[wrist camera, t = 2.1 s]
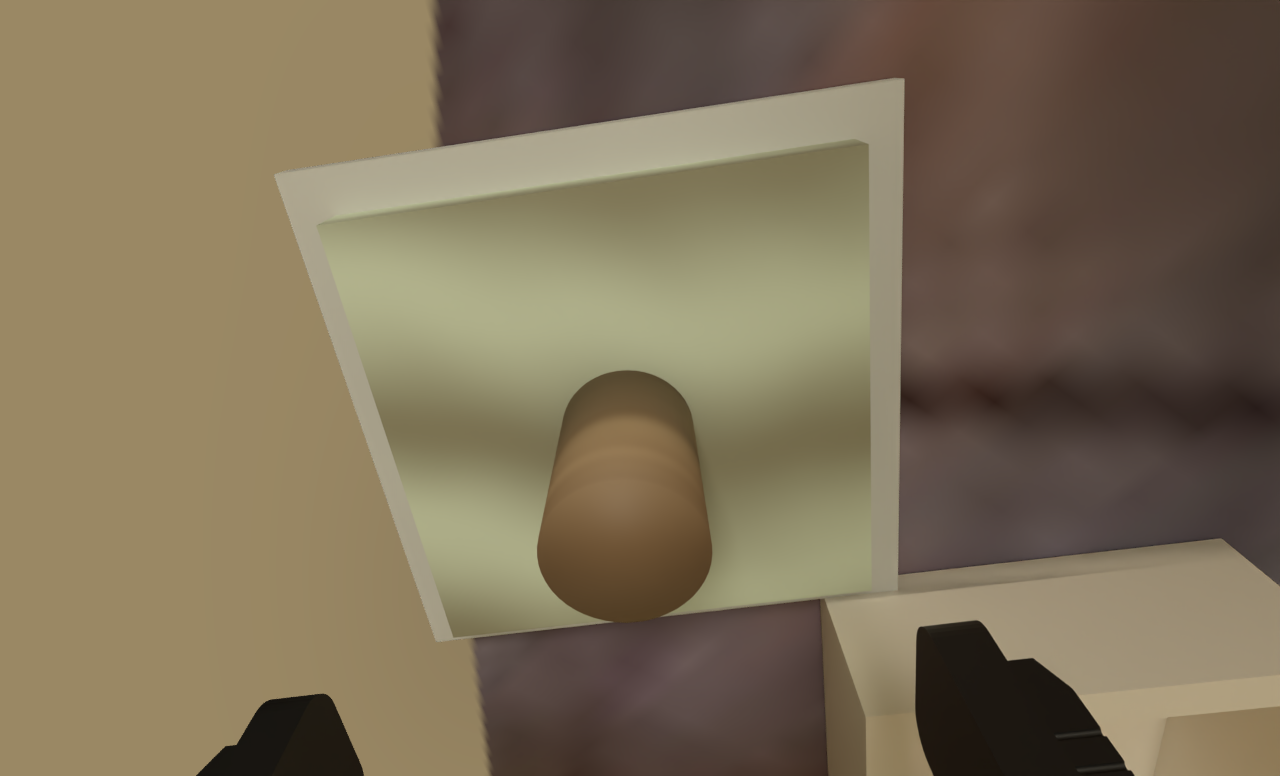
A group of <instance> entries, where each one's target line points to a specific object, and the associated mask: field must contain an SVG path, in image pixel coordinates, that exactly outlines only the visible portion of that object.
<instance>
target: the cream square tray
mask: <svg viewBox="0 0 1280 776" xmlns="http://www.w3.org/2000/svg"><path fill="white" fill-rule="evenodd" d="M820 608H821V630H822V652H823V674H824V696H825V718H826V740H827V762H828V776H933V774H932V771H931V769H930V767H929V764H928V762H927V759H926V757H925V754H924V751H923V748H922V744H921V741H920V737H919V733H918V728H917V722H916V714H915V683H916V635H917V630H918V628H919V627H921V626H930V625H939V624H947V623H956V622H965V621H973V620H978V621H980V622H981V623H983V625H984V626H985V627H986V628H987V630H988V631H989V632H990V634H991V636H992V637H993V639H994V640H995V642H996V644H997V645H998V647H999V648H1000V650H1001V651H1002V653H1003V655H1004V656H1005V658H1006V659H1007V661H1009V660H1018V659H1027V658H1034V659H1035V660H1036V661H1037V662H1039V663H1040V664H1041V665H1043V666H1044V667H1045V668H1047V669H1048V670H1049V671H1051V672H1052V673H1053V674H1054V675H1056V676H1057V677H1058V678H1060V679H1061V680H1062V681H1064V682H1065V683H1066V684H1067V685H1069V686H1070V687H1071V688H1073V690H1074V691H1075V692H1076V694H1077V695H1078V697H1079V698H1080V699H1081V701H1082V702H1083V704H1084V705H1085V706H1086V708H1087V709H1088V711H1089V712H1090V713H1091V715H1092V716H1093V718H1094V719H1095V720H1096V722H1097V723H1098V725H1099V726H1100V727H1101V732H1102V734H1103V736H1107V737H1108V739H1109V740H1110V741H1111V743H1112V744H1113V746H1114V747H1115V748H1116V750H1117V751H1118V753H1119V754H1120V755H1121V757H1122V758H1123V760H1124V761H1125V766H1126V768H1127V770H1131V771H1132V772H1133V774H1134V775H1135V776H1280V586H1279V585H1278V584H1276V583H1275V582H1274V581H1273V580H1271V579H1270V578H1269V577H1268V576H1267V575H1265V574H1264V573H1263V572H1262V571H1260V570H1259V569H1258V568H1257V567H1256V566H1254V565H1253V564H1252V563H1251V562H1249V561H1248V560H1247V559H1246V558H1245V557H1243V556H1242V555H1241V554H1240V553H1238V552H1237V551H1236V550H1235V549H1234V548H1232V547H1231V546H1230V545H1229V544H1228V543H1226V542H1225V541H1224V540H1223V539H1221V538H1219V539H1210V540H1202V541H1193V542H1184V543H1175V544H1166V545H1158V546H1149V547H1140V548H1131V549H1122V550H1114V551H1105V552H1096V553H1087V554H1078V555H1069V556H1061V557H1052V558H1043V559H1034V560H1025V561H1017V562H1008V563H999V564H990V565H981V566H972V567H964V568H955V569H946V570H937V571H928V572H920V573H911V574H902V575H898V590H895V591H886V592H877V593H868V594H860V595H851V596H842V597H833V598H824V599H820Z"/></svg>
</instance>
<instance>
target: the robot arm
mask: <svg viewBox="0 0 1280 776" xmlns="http://www.w3.org/2000/svg"><path fill="white" fill-rule="evenodd" d="M915 714H916V722H917V728H918V733H919V737H920V741H921V744H922V748H923V751H924V754H925V757H926V759H927V762H928V764H929V767H930V769H931V771H932V774H933V776H1135V775H1134V774H1133V772H1132V771H1131V770H1127V768H1126V766H1125V761H1124V760H1123V758H1122V757H1121V755H1120V754H1119V753H1118V751H1117V750H1116V748H1115V747H1114V746H1113V744H1112V743H1111V741H1110V740H1109V739H1108V737H1107V736H1103V734H1102V732H1101V727H1100V726H1099V725H1098V723H1097V722H1096V720H1095V719H1094V718H1093V716H1092V715H1091V713H1090V712H1089V711H1088V709H1087V708H1086V706H1085V705H1084V704H1083V702H1082V701H1081V699H1080V698H1079V697H1078V695H1077V694H1076V692H1075V691H1074V690H1073V688H1071V687H1070V686H1069V685H1067V684H1066V683H1065V682H1064V681H1062V680H1061V679H1060V678H1058V677H1057V676H1056V675H1054V674H1053V673H1052V672H1051V671H1049V670H1048V669H1047V668H1045V667H1044V666H1043V665H1041V664H1040V663H1039V662H1037V661H1036V660H1035V659H1034V658H1027V659H1018V660H1009V661H1007V659H1006V658H1005V656H1004V655H1003V653H1002V651H1001V650H1000V648H999V647H998V645H997V644H996V642H995V640H994V639H993V637H992V636H991V634H990V632H989V631H988V630H987V628H986V627H985V626H984V625H983V623H981V622H980V621H978V620H973V621H965V622H956V623H947V624H939V625H930V626H921V627H919V628H918V630H917V635H916V683H915ZM196 776H364V774H363V770H362V767H361V764H360V762H359V759H358V757H357V755H356V753H355V750H354V748H353V746H352V743H351V741H350V739H349V736H348V734H347V732H346V730H345V728H344V725H343V723H342V720H341V718H340V716H339V714H338V711H337V709H336V707H335V704H334V703H333V701H332V699H331V698H330V697H329V696H328V695H326V694H315V695H307V696H298V697H290V698H281V699H272V700H269V701H266V702H265V703H263V704H262V705H261V706H260V708H259V709H258V710H257V712H256V713H255V715H254V716H253V718H252V720H251V721H250V723H249V725H248V726H247V728H246V730H245V732H244V733H243V735H242V737H241V738H240V740H239V742H238V743H237V745H233V746H225V748H223V749H222V750H221V751H220V753H218V754H217V755H216V756H215V757H214V758H213V759H212V760H211V761H210V762H209V763H208V764H207V765H206V766H205V767H204V768H203V769H202V770H201V771H200V772H199V773H198V774H197V775H196Z"/></svg>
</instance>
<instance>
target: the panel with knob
mask: <svg viewBox="0 0 1280 776" xmlns="http://www.w3.org/2000/svg"><path fill="white" fill-rule="evenodd" d="M850 139H856V140H859V141H862V142H864V143H867V144H869V252H870V407H871V562H872V591H864V592H856V593H847V594H838V595H829V596H820V597H811V598H802V599H793V600H784V601H776V602H767V603H758V604H749V605H740V606H731V607H722V608H713V609H704V610H696V611H687V612H678V613H669V614H666V615H663V616H660V617H664V616H672V615H681V614H690V613H699V612H708V611H717V610H726V609H735V608H744V607H753V606H762V605H770V604H779V603H788V602H797V601H806V600H815V599H824V598H833V597H842V596H851V595H860V594H868V593H877V592H886V591H895V590H898V529H899V452H900V376H901V300H902V224H903V148H904V79H903V78H891V79H884V80H877V81H871V82H864V83H858V84H851V85H845V86H838V87H831V88H825V89H818V90H812V91H805V92H799V93H792V94H785V95H779V96H772V97H766V98H759V99H753V100H746V101H739V102H733V103H726V104H720V105H713V106H707V107H700V108H694V109H687V110H680V111H674V112H667V113H661V114H654V115H648V116H641V117H634V118H628V119H621V120H615V121H608V122H602V123H595V124H588V125H582V126H575V127H569V128H562V129H556V130H549V131H542V132H536V133H529V134H523V135H516V136H510V137H503V138H496V139H490V140H483V141H477V142H470V143H464V144H457V145H450V146H444V147H437V148H431V149H424V150H418V151H411V152H405V153H398V154H392V155H385V156H378V157H372V158H365V159H359V160H353V161H345V162H339V163H332V164H326V165H320V166H313V167H306V168H299V169H293V170H286V171H283V172H280V173H277V174H274V177H275V180H276V182H277V185H278V188H279V191H280V194H281V197H282V200H283V203H284V205H285V208H286V211H287V214H288V217H289V220H290V223H291V226H292V228H293V231H294V234H295V237H296V240H297V243H298V246H299V249H300V252H301V254H302V257H303V260H304V263H305V266H306V269H307V271H308V274H309V277H310V280H311V283H312V286H313V289H314V292H315V295H316V297H317V300H318V303H319V306H320V309H321V312H322V315H323V318H324V320H325V323H326V326H327V329H328V332H329V335H330V338H331V341H332V343H333V347H334V349H335V352H336V355H337V358H338V361H339V364H340V367H341V369H342V372H343V375H344V378H345V381H346V384H347V387H348V390H349V392H350V395H351V398H352V401H353V404H354V407H355V410H356V413H357V416H358V418H359V421H360V424H361V427H362V430H363V433H364V436H365V439H366V441H367V444H368V447H369V450H370V453H371V456H372V459H373V462H374V464H375V467H376V470H377V473H378V476H379V479H380V482H381V484H382V487H383V490H384V493H385V496H386V499H387V502H388V505H389V507H390V510H391V513H392V516H393V519H394V522H395V525H396V528H397V531H398V534H399V536H400V539H401V542H402V545H403V548H404V551H405V553H406V557H407V559H408V562H409V565H410V568H411V571H412V574H413V577H414V579H415V582H416V585H417V588H418V591H419V594H420V597H421V600H422V603H423V605H424V608H425V611H426V614H427V617H428V620H429V623H430V626H431V628H432V631H433V634H434V637H435V640H436V642H441V641H450V640H459V639H468V638H477V637H485V636H494V635H503V634H512V633H521V632H530V631H539V630H548V629H557V628H566V627H575V626H583V625H592V624H601V623H610V622H611V621H598V622H589V623H580V624H571V625H562V626H553V627H544V628H535V629H527V630H518V631H509V632H500V633H491V634H482V635H473V636H464V637H455V638H453V635H452V632H451V629H450V626H449V623H448V620H447V617H446V614H445V611H444V608H443V605H442V602H441V599H440V596H439V593H438V590H437V587H436V584H435V581H434V578H433V575H432V572H431V569H430V566H429V563H428V560H427V557H426V554H425V551H424V548H423V545H422V542H421V539H420V536H419V533H418V530H417V527H416V524H415V521H414V518H413V515H412V512H411V509H410V506H409V503H408V500H407V497H406V494H405V491H404V488H403V485H402V482H401V479H400V476H399V473H398V470H397V467H396V464H395V461H394V458H393V455H392V452H391V449H390V446H389V443H388V440H387V437H386V434H385V431H384V428H383V425H382V422H381V419H380V416H379V413H378V410H377V407H376V404H375V401H374V398H373V395H372V392H371V389H370V386H369V383H368V380H367V377H366V374H365V371H364V368H363V365H362V362H361V359H360V356H359V353H358V350H357V347H356V344H355V341H354V338H353V335H352V332H351V329H350V326H349V323H348V320H347V317H346V314H345V311H344V308H343V305H342V302H341V299H340V296H339V293H338V290H337V287H336V284H335V281H334V278H333V275H332V272H331V269H330V265H329V262H328V259H327V256H326V253H325V250H324V247H323V244H322V241H321V238H320V235H319V232H318V229H317V226H316V225H318V224H320V223H322V222H324V221H326V220H328V219H330V218H332V217H334V216H336V215H343V214H350V213H357V212H363V211H370V210H377V209H384V208H390V207H397V206H404V205H411V204H417V203H424V202H431V201H438V200H444V199H451V198H458V197H465V196H471V195H478V194H485V193H492V192H499V191H505V190H512V189H519V188H526V187H532V186H539V185H546V184H553V183H559V182H566V181H573V180H580V179H586V178H593V177H600V176H607V175H613V174H620V173H627V172H634V171H640V170H647V169H654V168H661V167H667V166H674V165H681V164H688V163H695V162H701V161H708V160H715V159H722V158H728V157H735V156H742V155H749V154H755V153H762V152H769V151H776V150H782V149H789V148H796V147H803V146H809V145H816V144H823V143H830V142H836V141H843V140H850Z"/></svg>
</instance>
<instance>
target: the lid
mask: <svg viewBox="0 0 1280 776" xmlns="http://www.w3.org/2000/svg"><path fill="white" fill-rule="evenodd" d="M316 226H317V229H318V232H319V235H320V238H321V241H322V244H323V247H324V250H325V253H326V256H327V259H328V262H329V265H330V269H331V272H332V275H333V278H334V281H335V284H336V287H337V290H338V293H339V296H340V299H341V302H342V305H343V308H344V311H345V314H346V317H347V320H348V323H349V326H350V329H351V332H352V335H353V338H354V341H355V344H356V347H357V350H358V353H359V356H360V359H361V362H362V365H363V368H364V371H365V374H366V377H367V380H368V383H369V386H370V389H371V392H372V395H373V398H374V401H375V404H376V407H377V410H378V413H379V416H380V419H381V422H382V425H383V428H384V431H385V434H386V437H387V440H388V443H389V446H390V449H391V452H392V455H393V458H394V461H395V464H396V467H397V470H398V473H399V476H400V479H401V482H402V485H403V488H404V491H405V494H406V497H407V500H408V503H409V506H410V509H411V512H412V515H413V518H414V521H415V524H416V527H417V530H418V533H419V536H420V539H421V542H422V545H423V548H424V551H425V554H426V557H427V560H428V563H429V566H430V569H431V572H432V575H433V578H434V581H435V584H436V587H437V590H438V593H439V596H440V599H441V602H442V605H443V608H444V611H445V614H446V617H447V620H448V623H449V626H450V629H451V632H452V635H453V638H455V637H464V636H473V635H482V634H491V633H500V632H509V631H518V630H527V629H535V628H544V627H553V626H562V625H571V624H580V623H589V622H598V621H611V622H624V623H628V622H640V621H646V620H650V619H654V618H658V617H660V616H663V615H666V614H669V613H678V612H687V611H696V610H704V609H713V608H722V607H731V606H740V605H749V604H758V603H767V602H776V601H784V600H793V599H802V598H811V597H820V596H829V595H838V594H847V593H856V592H864V591H872V562H871V407H870V252H869V144H867V143H864V142H862V141H859V140H856V139H850V140H843V141H836V142H830V143H823V144H816V145H809V146H803V147H796V148H789V149H782V150H776V151H769V152H762V153H755V154H749V155H742V156H735V157H728V158H722V159H715V160H708V161H701V162H695V163H688V164H681V165H674V166H667V167H661V168H654V169H647V170H640V171H634V172H627V173H620V174H613V175H607V176H600V177H593V178H586V179H580V180H573V181H566V182H559V183H553V184H546V185H539V186H532V187H526V188H519V189H512V190H505V191H499V192H492V193H485V194H478V195H471V196H465V197H458V198H451V199H444V200H438V201H431V202H424V203H417V204H411V205H404V206H397V207H390V208H384V209H377V210H370V211H363V212H357V213H350V214H343V215H336V216H334V217H332V218H330V219H328V220H326V221H324V222H322V223H320V224H318V225H316Z"/></svg>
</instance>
